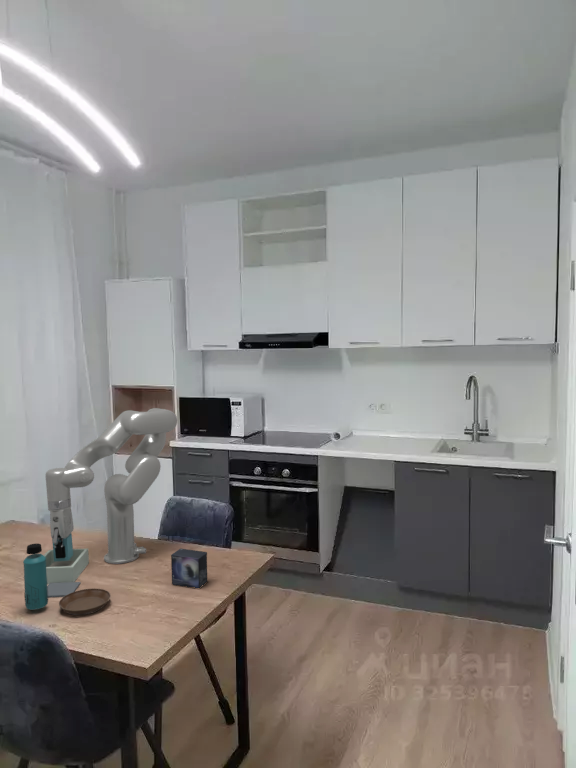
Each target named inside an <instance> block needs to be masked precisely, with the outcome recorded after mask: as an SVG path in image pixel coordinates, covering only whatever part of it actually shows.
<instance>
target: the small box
mask: <svg viewBox="0 0 576 768" xmlns="http://www.w3.org/2000/svg"><path fill="white" fill-rule="evenodd" d="M170 557H171V558H170V560H171V562H170V563H171V564H170V565H171V585H172V584H173V585H172V586H177V585H180V586H179V587H183V586H187V587H186V588H189V587H195V588H200V587H201V586H202V585H203V586H205V585H206V584H207V583H208V552H207V551H201V550H195V549H186V548H179V549H177V550H176V551H174V552H173V553H172V554H170ZM206 582H207V583H206ZM205 583H206V584H205ZM204 584H205V585H204ZM203 586H202V587H203ZM202 587H201V588H202ZM195 588H194V589H195ZM201 588H200V589H201Z"/></svg>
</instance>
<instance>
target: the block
mask: <svg viewBox="0 0 576 768" xmlns="http://www.w3.org/2000/svg"><path fill="white" fill-rule="evenodd" d="M72 534H73V533H72V532H71V534H70V535H69V536H68V537H67V538H65V539H64V546H65V554H66V557H65V558H56V555H55V545H54V543H53V539H52V538H51V539H52V540H51V542H52V543H51V544H52V550H53V555H54V562H55V561H69V560H70V558H71V557H72V556H73V549H74V548H73V535H72ZM58 538H61V536H58ZM59 541H60V542H61V540H59Z"/></svg>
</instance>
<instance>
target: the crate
mask: <svg viewBox="0 0 576 768" xmlns="http://www.w3.org/2000/svg"><path fill="white" fill-rule="evenodd" d="M43 555H44V556H45V557H46V573H47V579H48V580H47V582H48V584H47V585H49V584H50V583H64V582H77V579H78V578H79V577H80V575H81V574H82V573H83V571H84V570H85V568H86V567H87V566H88V565H89V563H90V559H89V548H73V556H72V557H71V558H70V560H69V561H55V562H54V555H53V549H48V550H47V551H46V552H45V553H44V554H43Z"/></svg>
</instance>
